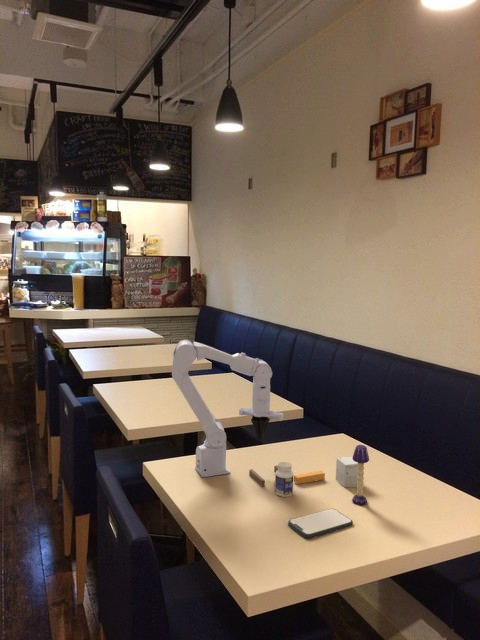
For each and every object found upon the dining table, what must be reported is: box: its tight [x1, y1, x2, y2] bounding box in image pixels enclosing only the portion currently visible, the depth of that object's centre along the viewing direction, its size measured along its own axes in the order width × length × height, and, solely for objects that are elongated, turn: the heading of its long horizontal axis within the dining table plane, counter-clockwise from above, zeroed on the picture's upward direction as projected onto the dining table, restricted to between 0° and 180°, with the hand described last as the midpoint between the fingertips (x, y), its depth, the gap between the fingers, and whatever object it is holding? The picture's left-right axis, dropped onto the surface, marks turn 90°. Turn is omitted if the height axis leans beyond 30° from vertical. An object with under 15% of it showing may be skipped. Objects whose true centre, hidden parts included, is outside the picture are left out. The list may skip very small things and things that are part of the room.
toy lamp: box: [351, 444, 370, 506], centre depth 147 cm, size 5×5×17 cm
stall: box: [248, 464, 279, 488], centre depth 162 cm, size 10×9×2 cm
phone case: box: [287, 508, 354, 540], centre depth 135 cm, size 9×2×16 cm
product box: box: [334, 456, 358, 488], centre depth 160 cm, size 6×6×7 cm
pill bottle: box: [274, 461, 294, 498], centre depth 152 cm, size 5×5×9 cm
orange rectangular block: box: [293, 470, 326, 485], centre depth 161 cm, size 10×2×2 cm, turn 114°
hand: (260, 438), depth 168 cm, fingers closed
